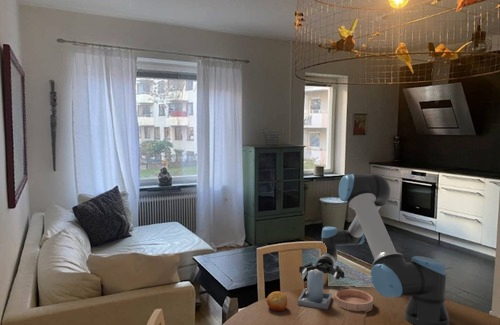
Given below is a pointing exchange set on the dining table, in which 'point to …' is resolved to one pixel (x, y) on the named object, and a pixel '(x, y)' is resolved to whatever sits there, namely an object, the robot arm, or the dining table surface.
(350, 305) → the bowl
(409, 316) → the robot arm
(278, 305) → the fruit
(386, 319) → the dining table surface
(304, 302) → the parts tray
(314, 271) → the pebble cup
